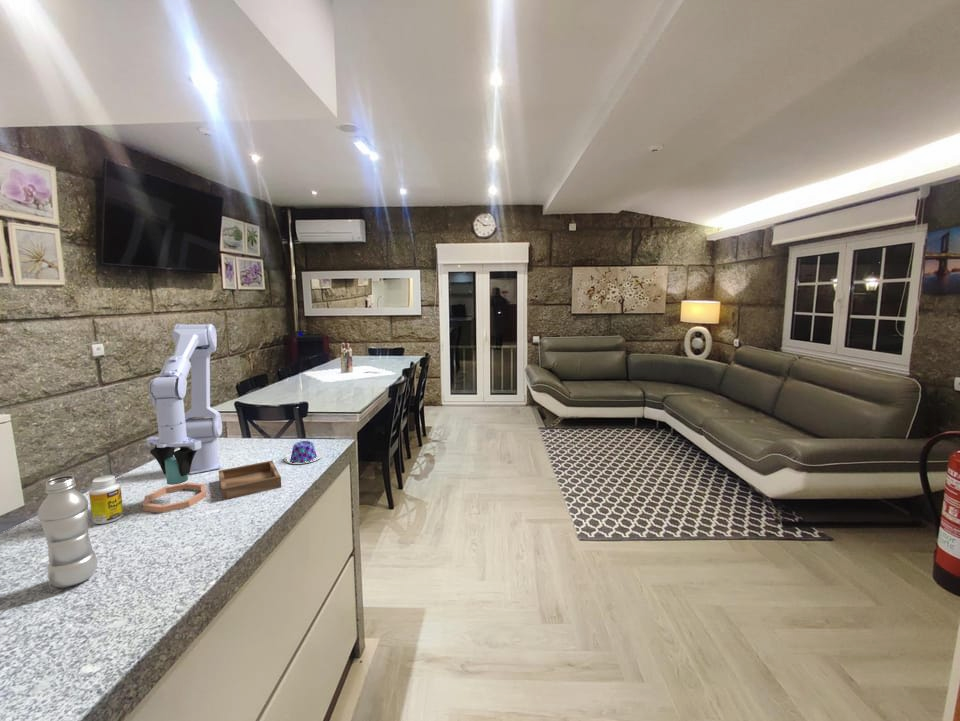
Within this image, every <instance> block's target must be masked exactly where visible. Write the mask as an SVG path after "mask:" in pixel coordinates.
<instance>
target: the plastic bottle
mask: <svg viewBox="0 0 960 721" xmlns="http://www.w3.org/2000/svg"><path fill="white" fill-rule="evenodd" d="M44 485H45V494H47V496H46V498H44V500H42V503H41V504H40V506H39V508H38V510H37V518H38V520H39V522H40V525H41V528H42V530H43V533H44V536H45V540H46V543H47V549H48V550H47V551H48V567H47V579H48V581H49V583H50V585H52V586H54V587H55V588H59V589H63V588H70V587H73V586H76V585H78V584H80V583H83V582H85V581H86V580H88V579H90V578H91V577H92V576H93V574H95V572H96V570H97V568H98V558H97V555H96V552H95V550H93V546H92V543H91V538H90V536H89V530H88V529H89V525H88V517H89V515H88V514H89V500H88V499H87V497H86V496H85V495H84V494H82V493H81V492H80V491H78V490H77V489H75V488H76V487H77V484H76V480H75V477H74V475H70V474H69V475H61V476H57V477H54V478H51V479H48V480H47V481H46V482H45V484H44Z"/></svg>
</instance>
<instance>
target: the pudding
mask: <svg viewBox="0 0 960 721" xmlns="http://www.w3.org/2000/svg"><path fill="white" fill-rule="evenodd" d="M293 444H294V445H293V446H292V451H291V453H289V454H287V455H285V456H284V458H283V461H285V462H286V463H289V464H294V465H295V464H297V465H299V464H300V465H301V464H303V463H300V462H305V461H306V463H305V464H307V463H312V462H315V461H317V460H319V459H321V458H323V457H324V453H323V452H322V451H320V450H318V449H317V450H316V448H315V446H314V443H313V442H312V441H309V440H302V441H299V442H295V443H293ZM316 453H318V455H319V457H318V458H317V459H315V460H314V458H316V457H317V454H316ZM289 455H291V460H290V461H292V460H293V461H294V462H295V463H292V462H293V461H292V462H288V461H287V459H286V458H287V457H288V456H289ZM311 460H313V461H311ZM298 461H299V462H298ZM309 461H310V462H309Z"/></svg>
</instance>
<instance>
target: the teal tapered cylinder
mask: <svg viewBox="0 0 960 721" xmlns="http://www.w3.org/2000/svg"><path fill="white" fill-rule="evenodd" d="M165 471H166V475H165V477H166V479H165V480H166V484H167V485H168V486H172V485H177V484H182V483H186V482H187V481H189V474H187V475H185V476H181V475H180V473H179V467H178V463H177V460H176V458H175V456H173V457H170V458H167V459H165Z"/></svg>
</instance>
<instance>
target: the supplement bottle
mask: <svg viewBox="0 0 960 721" xmlns="http://www.w3.org/2000/svg"><path fill="white" fill-rule="evenodd" d="M121 486H122V485H121V484H120V483H119V482H117V481H116V476H115V475H114V474H105V475H101V476H98V477H95V478H93V480H92V487H90V489H89V490H88V495H89V504H90V509H91V510H90V511H91V519H92V522H93V523H94V524H96V525H103V524H109V523H113V522H115V521H117V520H119V519H121V518H122V517H123V516H124V505H123V498H122V488H121Z"/></svg>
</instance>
